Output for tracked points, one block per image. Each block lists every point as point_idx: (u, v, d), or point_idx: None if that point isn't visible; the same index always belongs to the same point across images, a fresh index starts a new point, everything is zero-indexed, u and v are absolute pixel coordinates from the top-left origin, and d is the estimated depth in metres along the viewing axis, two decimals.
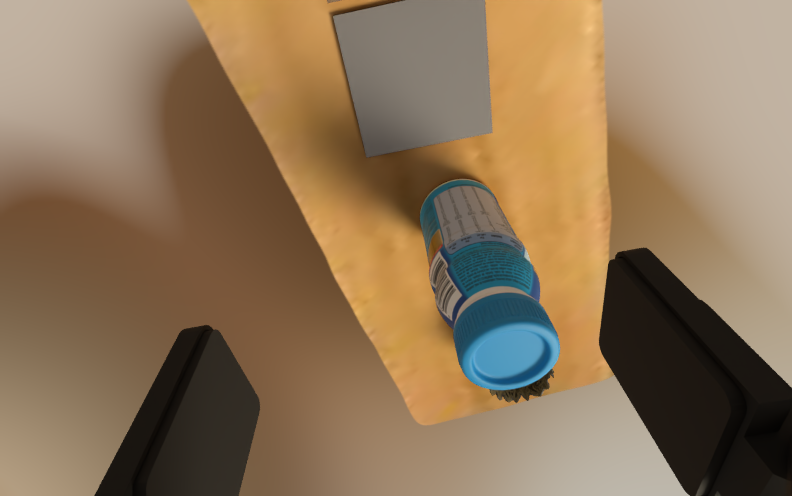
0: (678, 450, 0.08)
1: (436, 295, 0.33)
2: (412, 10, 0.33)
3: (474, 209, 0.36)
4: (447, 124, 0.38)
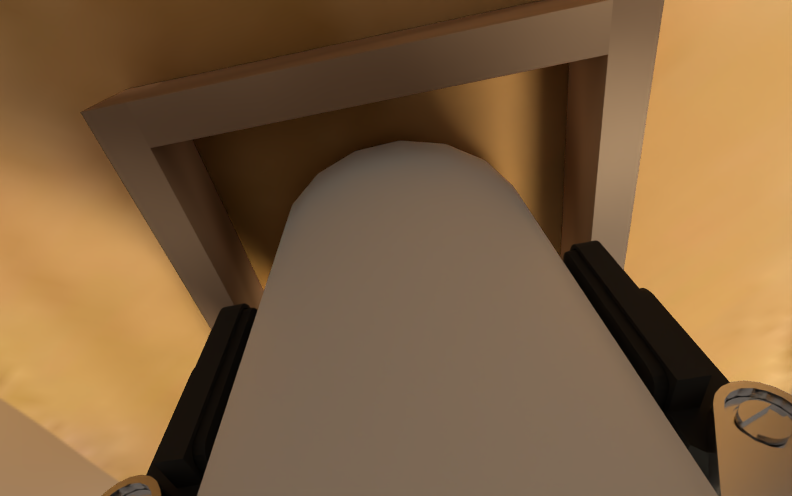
0: None
1: None
2: None
3: None
4: None
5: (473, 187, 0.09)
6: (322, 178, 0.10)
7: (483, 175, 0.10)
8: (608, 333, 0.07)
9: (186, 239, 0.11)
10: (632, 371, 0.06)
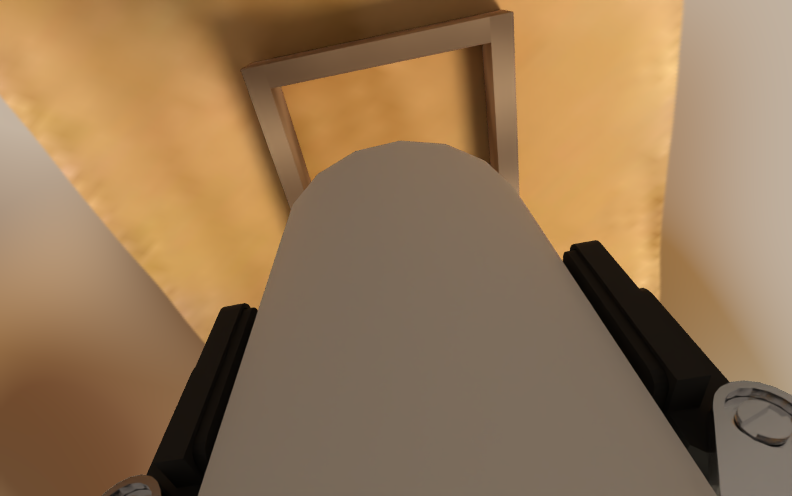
0: None
1: None
2: None
3: None
4: None
5: (473, 187, 0.09)
6: (322, 178, 0.11)
7: (483, 175, 0.10)
8: (607, 332, 0.07)
9: (281, 140, 0.20)
10: (631, 370, 0.06)
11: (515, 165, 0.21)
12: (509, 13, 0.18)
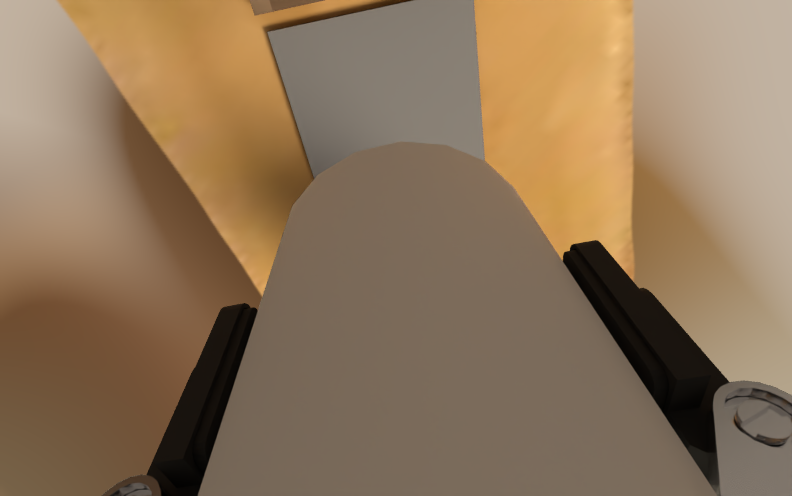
0: None
1: None
2: (376, 24, 0.24)
3: None
4: None
5: (474, 188, 0.09)
6: (322, 179, 0.10)
7: (484, 176, 0.10)
8: (609, 335, 0.07)
9: None
10: (633, 373, 0.06)
11: None
12: None
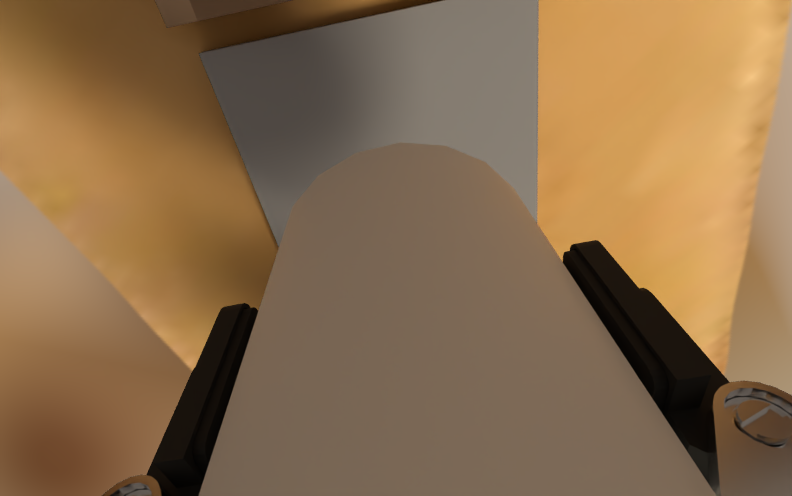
0: None
1: None
2: (376, 41, 0.15)
3: None
4: None
5: (474, 189, 0.09)
6: (322, 180, 0.10)
7: (484, 177, 0.10)
8: (609, 336, 0.07)
9: None
10: (633, 375, 0.06)
11: None
12: None
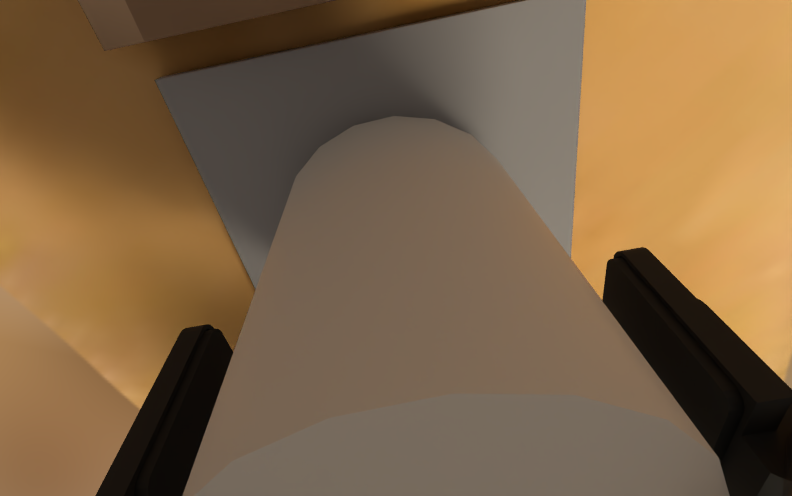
0: None
1: None
2: (379, 64, 0.12)
3: None
4: None
5: (459, 151, 0.10)
6: (323, 149, 0.12)
7: (469, 144, 0.11)
8: (573, 263, 0.08)
9: None
10: (591, 289, 0.07)
11: None
12: None
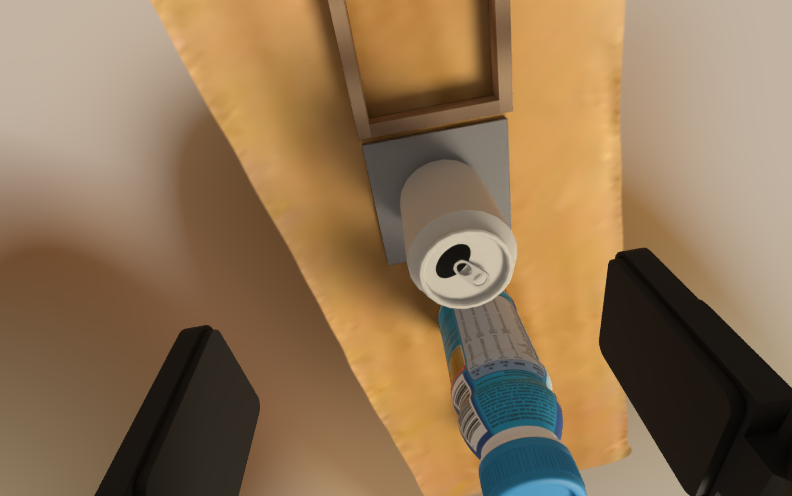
0: (678, 450, 0.08)
1: (459, 421, 0.33)
2: (438, 141, 0.35)
3: (495, 326, 0.37)
4: None
5: (465, 172, 0.33)
6: (419, 170, 0.34)
7: (468, 169, 0.34)
8: (494, 202, 0.30)
9: (341, 13, 0.28)
10: (496, 206, 0.30)
11: (509, 38, 0.29)
12: None
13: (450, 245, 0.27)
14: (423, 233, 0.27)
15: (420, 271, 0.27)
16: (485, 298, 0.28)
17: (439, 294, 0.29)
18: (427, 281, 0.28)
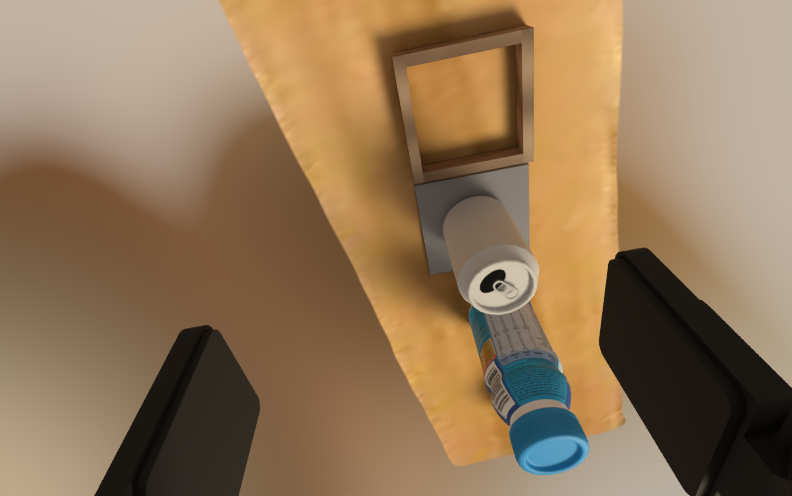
0: (678, 449, 0.08)
1: (492, 397, 0.44)
2: (474, 181, 0.44)
3: (517, 323, 0.47)
4: None
5: (496, 208, 0.42)
6: (459, 205, 0.44)
7: (498, 204, 0.43)
8: (520, 233, 0.40)
9: (406, 96, 0.37)
10: (522, 237, 0.40)
11: (532, 110, 0.39)
12: (531, 28, 0.35)
13: (491, 270, 0.37)
14: (470, 261, 0.37)
15: (469, 289, 0.37)
16: (515, 307, 0.39)
17: (481, 304, 0.39)
18: (473, 295, 0.38)
